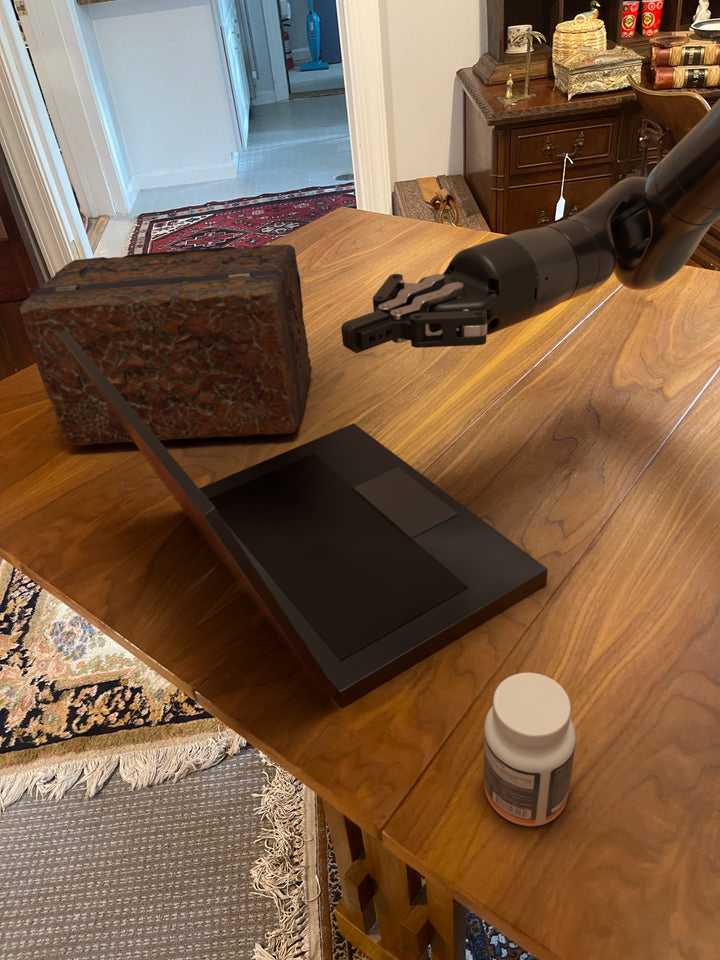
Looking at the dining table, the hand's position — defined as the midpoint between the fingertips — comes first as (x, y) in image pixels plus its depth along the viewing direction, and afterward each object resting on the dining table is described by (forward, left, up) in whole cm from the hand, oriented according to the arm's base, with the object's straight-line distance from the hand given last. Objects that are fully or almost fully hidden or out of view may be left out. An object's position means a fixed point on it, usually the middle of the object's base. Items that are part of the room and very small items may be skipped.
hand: (347, 339), depth 58 cm
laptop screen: (+13, +7, -10) cm, 18 cm away
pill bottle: (-14, +23, -23) cm, 36 cm away
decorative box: (+26, -27, -23) cm, 44 cm away
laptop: (+2, -2, -23) cm, 23 cm away
